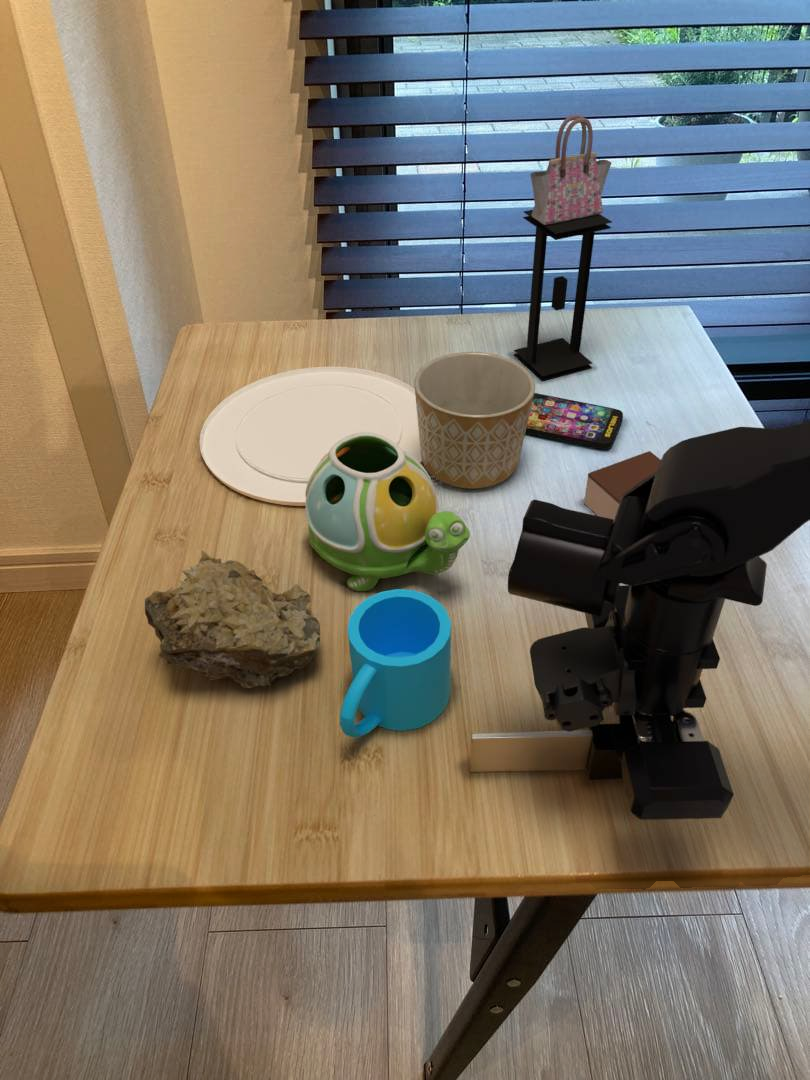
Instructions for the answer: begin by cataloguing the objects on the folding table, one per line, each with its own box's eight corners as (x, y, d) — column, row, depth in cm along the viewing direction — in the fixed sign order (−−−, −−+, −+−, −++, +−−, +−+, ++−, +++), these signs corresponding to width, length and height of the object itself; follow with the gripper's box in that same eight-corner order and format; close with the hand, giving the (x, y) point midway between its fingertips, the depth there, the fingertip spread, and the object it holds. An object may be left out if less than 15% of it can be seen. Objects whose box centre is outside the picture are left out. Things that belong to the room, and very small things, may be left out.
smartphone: (505, 386, 105) (625, 410, 101) (505, 393, 106) (624, 416, 101) (485, 419, 100) (611, 446, 95) (484, 426, 101) (609, 452, 96)
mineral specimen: (345, 602, 80) (337, 522, 73) (311, 713, 70) (297, 633, 64) (200, 586, 82) (178, 508, 75) (147, 692, 72) (118, 613, 66)
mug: (389, 640, 76) (385, 575, 71) (468, 678, 73) (470, 613, 67) (306, 735, 69) (295, 671, 63) (389, 782, 65) (385, 719, 60)
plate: (430, 367, 111) (430, 362, 111) (444, 502, 90) (444, 497, 90) (218, 375, 111) (217, 370, 110) (182, 512, 90) (181, 507, 90)
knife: (671, 751, 67) (682, 717, 64) (679, 778, 65) (690, 744, 62) (469, 756, 67) (470, 722, 64) (471, 783, 65) (472, 749, 62)
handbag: (532, 383, 108) (554, 133, 88) (504, 357, 113) (518, 114, 93) (602, 365, 111) (638, 118, 91) (572, 340, 116) (600, 101, 96)
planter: (521, 430, 100) (529, 352, 93) (530, 498, 91) (540, 417, 84) (414, 428, 100) (415, 350, 93) (412, 496, 91) (413, 415, 84)
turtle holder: (414, 639, 76) (412, 541, 68) (284, 548, 86) (268, 453, 78) (500, 568, 83) (507, 471, 75) (370, 491, 92) (364, 398, 84)
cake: (693, 522, 87) (701, 491, 84) (631, 547, 84) (637, 516, 82) (643, 480, 92) (649, 450, 90) (583, 502, 90) (588, 473, 87)
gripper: (527, 529, 62) (514, 666, 72) (566, 746, 48) (543, 877, 58) (680, 525, 62) (645, 663, 72) (763, 741, 48) (705, 873, 58)
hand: (632, 758), depth 65 cm, fingers closed on knife, 2 cm apart
